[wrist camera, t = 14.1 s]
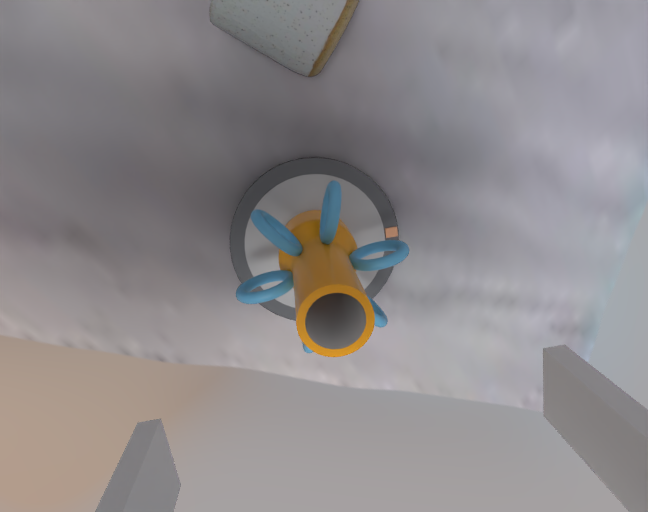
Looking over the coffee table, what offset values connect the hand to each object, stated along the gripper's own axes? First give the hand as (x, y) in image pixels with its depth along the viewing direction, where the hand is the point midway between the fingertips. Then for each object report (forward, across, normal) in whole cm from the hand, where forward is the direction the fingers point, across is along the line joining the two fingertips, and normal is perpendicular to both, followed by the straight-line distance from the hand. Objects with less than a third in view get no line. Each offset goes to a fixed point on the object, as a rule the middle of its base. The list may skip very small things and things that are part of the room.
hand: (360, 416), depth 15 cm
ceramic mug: (+25, +1, +19) cm, 31 cm away
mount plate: (+24, 0, 0) cm, 24 cm away
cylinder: (+23, 0, 0) cm, 23 cm away
